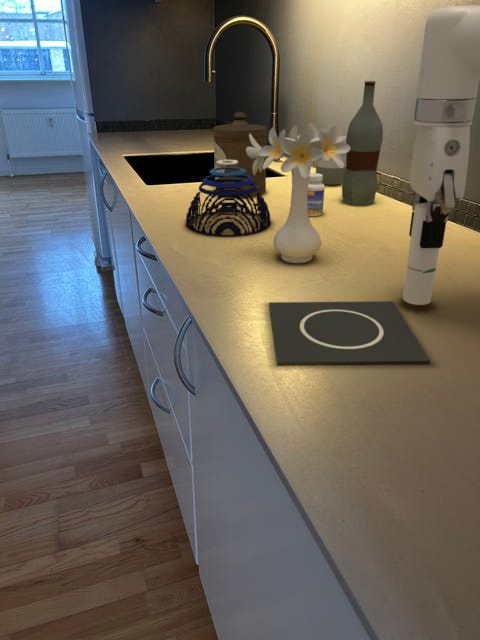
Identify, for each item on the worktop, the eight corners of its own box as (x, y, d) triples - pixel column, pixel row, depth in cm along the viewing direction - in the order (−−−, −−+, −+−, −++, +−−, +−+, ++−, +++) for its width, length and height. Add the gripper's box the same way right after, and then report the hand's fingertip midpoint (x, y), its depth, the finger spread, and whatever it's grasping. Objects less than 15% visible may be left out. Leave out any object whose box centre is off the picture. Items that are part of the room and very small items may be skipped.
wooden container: (217, 186, 157) (215, 109, 147) (265, 186, 156) (266, 109, 146) (213, 198, 144) (210, 114, 134) (265, 198, 143) (267, 114, 133)
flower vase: (250, 246, 108) (250, 120, 97) (338, 249, 106) (350, 120, 94) (242, 268, 97) (242, 129, 85) (341, 273, 94) (354, 130, 83)
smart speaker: (311, 181, 162) (313, 135, 156) (338, 180, 164) (342, 134, 157) (320, 188, 154) (324, 139, 148) (349, 186, 156) (354, 138, 149)
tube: (402, 303, 81) (415, 209, 74) (403, 292, 84) (415, 202, 78) (431, 306, 80) (446, 211, 73) (430, 295, 83) (445, 203, 76)
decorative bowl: (273, 236, 114) (275, 170, 107) (183, 236, 114) (179, 170, 107) (268, 211, 131) (269, 153, 125) (190, 212, 131) (187, 154, 125)
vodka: (356, 196, 145) (368, 79, 131) (382, 202, 139) (397, 81, 125) (333, 201, 140) (343, 81, 126) (359, 208, 134) (372, 82, 120)
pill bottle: (302, 216, 127) (304, 177, 123) (299, 210, 132) (301, 172, 128) (324, 216, 127) (327, 176, 123) (320, 210, 132) (323, 172, 128)
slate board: (392, 304, 83) (392, 300, 82) (429, 363, 67) (430, 359, 66) (268, 305, 83) (269, 301, 82) (276, 365, 67) (277, 360, 66)
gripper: (500, 118, 62) (472, 260, 70) (448, 107, 77) (430, 225, 85) (438, 120, 62) (417, 262, 70) (398, 108, 77) (385, 226, 85)
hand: (425, 240), depth 78 cm, fingers closed on tube, 4 cm apart
